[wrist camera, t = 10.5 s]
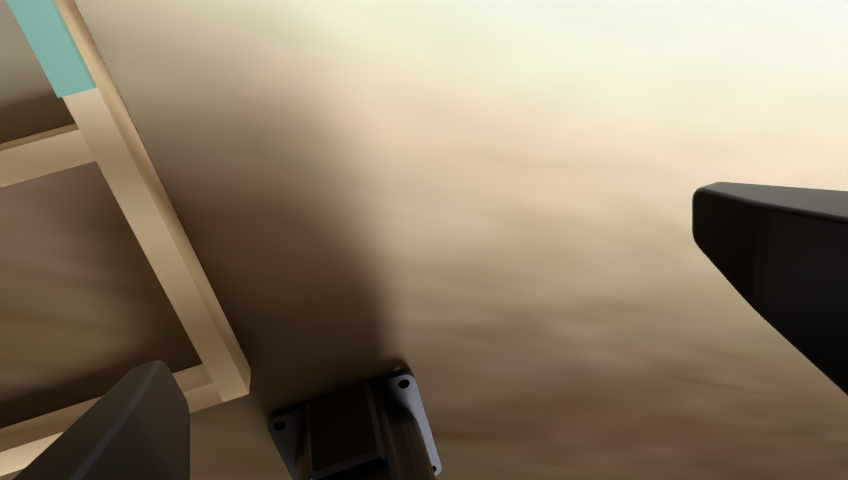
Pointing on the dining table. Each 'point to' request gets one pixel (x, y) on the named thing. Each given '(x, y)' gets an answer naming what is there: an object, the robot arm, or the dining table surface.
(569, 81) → the dining table surface
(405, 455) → the robot arm
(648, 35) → the dining table surface
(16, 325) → the dining table surface
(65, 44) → the notch rack
